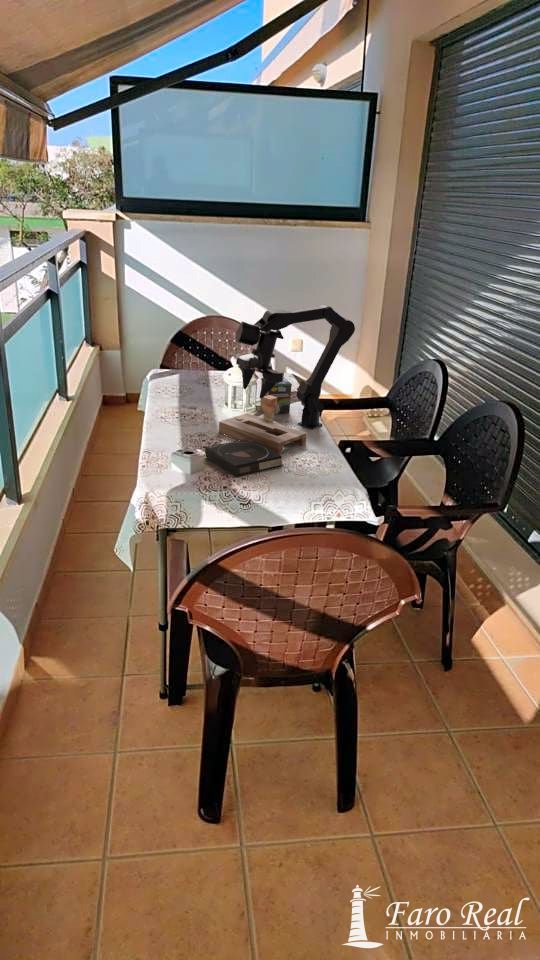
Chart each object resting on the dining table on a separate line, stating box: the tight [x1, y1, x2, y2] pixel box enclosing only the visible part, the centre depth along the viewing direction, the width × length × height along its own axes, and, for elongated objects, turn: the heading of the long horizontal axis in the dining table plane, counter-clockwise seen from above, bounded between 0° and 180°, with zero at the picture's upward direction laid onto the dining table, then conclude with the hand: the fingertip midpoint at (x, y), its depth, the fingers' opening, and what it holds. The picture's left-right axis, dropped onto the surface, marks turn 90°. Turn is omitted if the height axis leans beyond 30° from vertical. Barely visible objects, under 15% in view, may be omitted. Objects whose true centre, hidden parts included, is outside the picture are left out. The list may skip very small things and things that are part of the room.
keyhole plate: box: [218, 412, 307, 455], centre depth 222 cm, size 14×26×4 cm, turn 50°
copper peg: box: [261, 395, 278, 423], centre depth 233 cm, size 4×4×10 cm
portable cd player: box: [204, 439, 283, 478], centre depth 202 cm, size 16×17×4 cm
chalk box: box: [260, 371, 293, 415], centre depth 249 cm, size 9×9×15 cm
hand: (252, 393), depth 227 cm, fingers open, 9 cm apart
